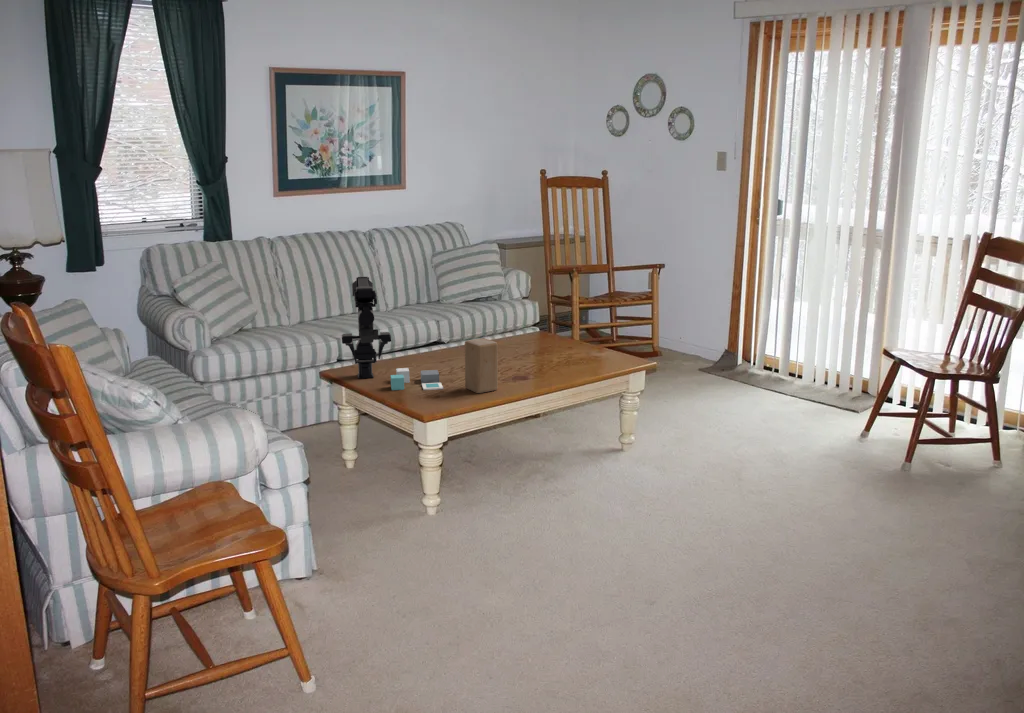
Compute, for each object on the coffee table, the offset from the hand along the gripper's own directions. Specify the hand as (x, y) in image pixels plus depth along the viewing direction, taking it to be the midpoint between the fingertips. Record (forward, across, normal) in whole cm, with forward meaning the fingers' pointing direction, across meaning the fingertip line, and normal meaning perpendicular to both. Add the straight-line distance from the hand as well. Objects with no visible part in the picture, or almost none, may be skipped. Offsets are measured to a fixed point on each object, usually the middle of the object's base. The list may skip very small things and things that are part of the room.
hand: (367, 359), depth 350 cm
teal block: (+15, +12, +8) cm, 21 cm away
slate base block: (+15, +26, +16) cm, 34 cm away
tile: (+15, +26, +7) cm, 31 cm away
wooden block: (+15, +45, 0) cm, 47 cm away
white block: (+15, +15, +18) cm, 28 cm away
